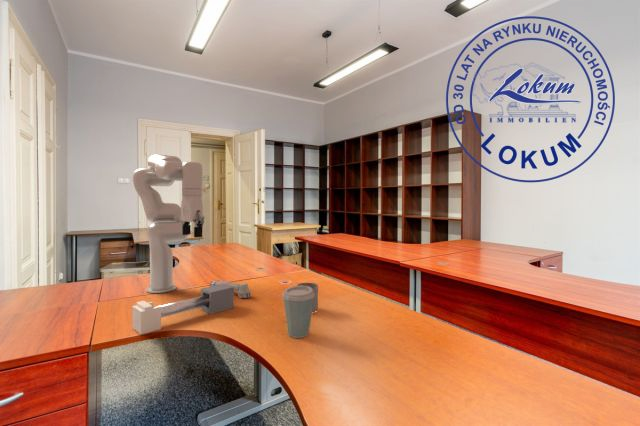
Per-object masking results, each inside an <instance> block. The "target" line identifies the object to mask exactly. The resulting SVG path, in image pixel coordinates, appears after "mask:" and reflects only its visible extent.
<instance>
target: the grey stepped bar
mask: <svg viewBox="0 0 640 426" xmlns="http://www.w3.org/2000/svg"><path fill="white" fill-rule="evenodd" d="M220 284H226V285H229V286H232V287H234V292H237V294H238V296H237V297H238V298H239V299H243V298H244V299H247V298H251V292H252V290H251V289H249V288H250V287H249V284H248V283H247V282H245V283H235V282H228V281H223V280H211V281H210V283H209V287H211V286H216V285H220Z"/></svg>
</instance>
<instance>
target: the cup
mask: <svg viewBox="0 0 640 426" xmlns="http://www.w3.org/2000/svg"><path fill="white" fill-rule="evenodd" d="M299 285H302V286H308V287H311V288H312V289H313V292H314V295H315V296H314V300H313V307H312V312H315V311H317V309H319V307H318V306H319V304H318V303H319V284H317V283H314V282H301V283H297V284H296V286H299ZM317 312H318V311H317Z"/></svg>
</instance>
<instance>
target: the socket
mask: <svg viewBox="0 0 640 426" xmlns="http://www.w3.org/2000/svg"><path fill="white" fill-rule="evenodd" d="M158 306H159V307H157V306H154V301H149V302H147V301H145V300H141V301H136V304H135V305H132V330H135V331H136V332H137V333H139V335H145V334H148V333H151V332H155V331H159V330H161V329H162V318H161V307H160V306H161V305H158ZM153 307H155V308H153Z"/></svg>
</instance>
